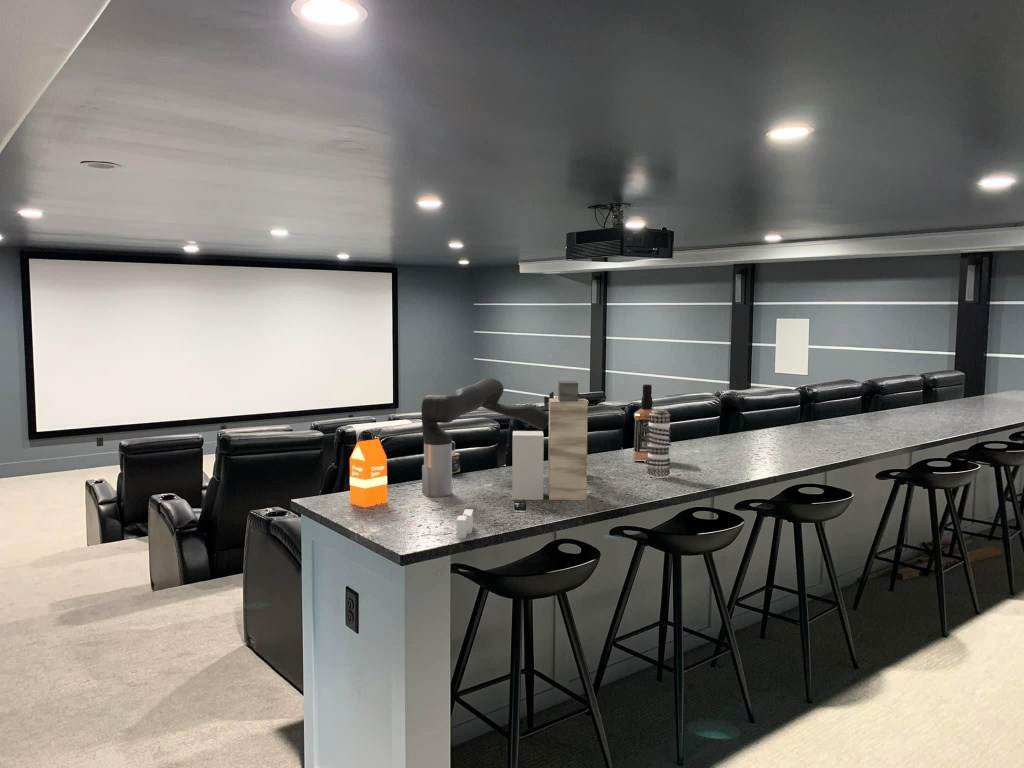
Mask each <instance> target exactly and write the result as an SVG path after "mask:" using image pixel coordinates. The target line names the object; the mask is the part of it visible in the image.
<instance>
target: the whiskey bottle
mask: <svg viewBox="0 0 1024 768" xmlns="http://www.w3.org/2000/svg"><path fill="white" fill-rule="evenodd" d="M652 389H653V388H652V384H642V396H641V400H640V401H641V402H640V403H641V405H640V406H641V408H639V409H638V410H636V411H635V412H634V413H633V417H634V435H633V437H634V439H633V448H632V460H633V459H634V460H646V461H648V460H647V458H648V453H649V446H648V445H647V444H648V443H649V441H647V438H648V437H647V434H648V433H649V432H648V431H647V428H648V427H647V425H649V414H650V413H651V411H652V410H654V409H653V398H652V392H653V391H652Z"/></svg>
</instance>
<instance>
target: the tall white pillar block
mask: <svg viewBox="0 0 1024 768" xmlns="http://www.w3.org/2000/svg"><path fill="white" fill-rule="evenodd" d="M544 438H545V437H544V431H543V430H513V431H512V445H511V446H512V462H511V463H512V465H511V466H512V468H511V469H512V471H511V472H512V474H511V475H512V478H511V479H512V480H511V481H512V484H511V486H512V487H511V488H512V489H511V491H512V492H511V493H512V494H511V496H512V497H511V498H512V500H515V501H516V500H518V501H522V500H523V499H524V500H526V501H527V500H531V501H536V500H537V501H543V500H544V449H545V448H544V444H545V442H544V441H545V439H544Z"/></svg>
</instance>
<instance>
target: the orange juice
mask: <svg viewBox="0 0 1024 768" xmlns="http://www.w3.org/2000/svg"><path fill="white" fill-rule="evenodd" d="M385 452H386V451H385V450H384V448H383V445H382V443H381V441H380V439H379V438H375V439H368V440H367V439H366V440H361V441H357V442H356V445H355V447H354V448H353V451H352V453H351V455H350V457H349V489H350V490H349V493H350V494H349V496H350V499H349V501H350V503H351V505H354V504H355V505H356V506H358V507H363V508H369V507H373V506H376V504H378V505H382V504H386V503H388V463H387V461H388V458H387V457H388V456H387V455H386V453H385ZM381 503H382V504H381Z"/></svg>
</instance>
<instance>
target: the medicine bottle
mask: <svg viewBox="0 0 1024 768" xmlns="http://www.w3.org/2000/svg"><path fill="white" fill-rule="evenodd" d="M460 462H461V453H458V452H456V442H455V441H453V440H452V474H456V473H460V471H461V463H460Z"/></svg>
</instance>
